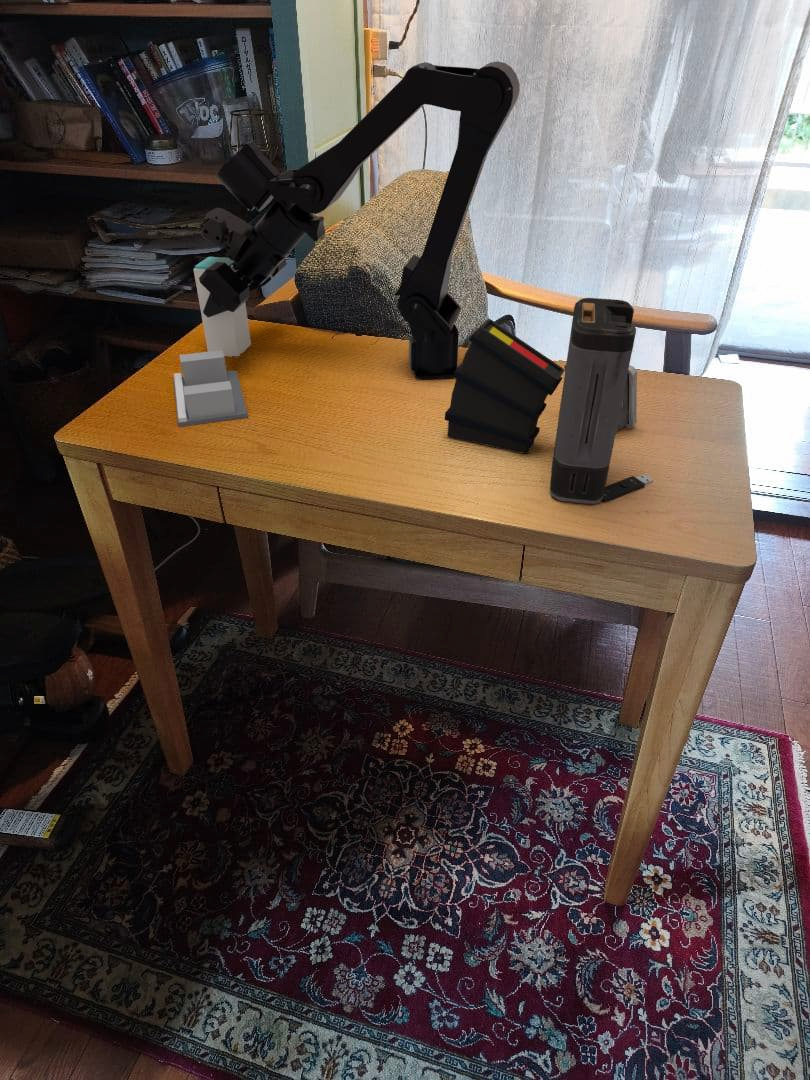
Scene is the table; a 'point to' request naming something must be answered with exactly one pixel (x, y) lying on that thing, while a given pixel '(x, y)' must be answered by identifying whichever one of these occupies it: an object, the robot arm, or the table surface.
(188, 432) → the table surface
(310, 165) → the robot arm
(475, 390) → the magazine
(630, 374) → the electrical switch
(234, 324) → the block
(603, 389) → the electronic device
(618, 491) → the usb flash drive
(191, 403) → the rail board
